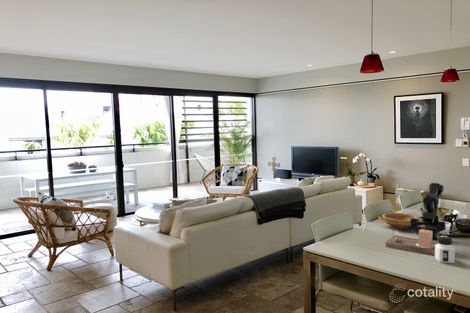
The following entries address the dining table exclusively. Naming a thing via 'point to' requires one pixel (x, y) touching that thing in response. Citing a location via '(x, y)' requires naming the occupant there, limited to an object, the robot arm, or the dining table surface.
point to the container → (445, 250)
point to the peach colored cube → (425, 238)
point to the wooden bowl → (398, 220)
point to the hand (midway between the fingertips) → (425, 236)
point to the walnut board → (410, 245)
